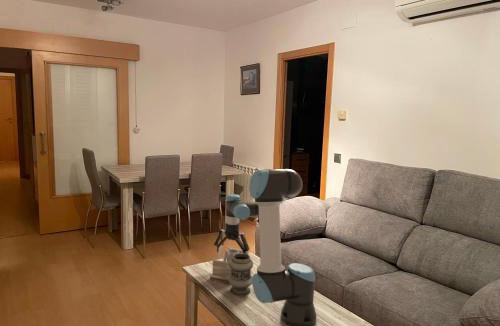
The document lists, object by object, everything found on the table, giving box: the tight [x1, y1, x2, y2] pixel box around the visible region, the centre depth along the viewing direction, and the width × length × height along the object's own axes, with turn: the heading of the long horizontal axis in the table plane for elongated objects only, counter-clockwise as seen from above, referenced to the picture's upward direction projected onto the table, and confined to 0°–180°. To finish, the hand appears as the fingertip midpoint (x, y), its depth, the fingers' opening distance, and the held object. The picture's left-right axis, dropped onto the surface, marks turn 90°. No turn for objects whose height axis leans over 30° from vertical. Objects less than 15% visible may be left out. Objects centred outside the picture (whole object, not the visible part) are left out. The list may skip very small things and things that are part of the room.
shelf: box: [209, 247, 249, 285], centre depth 195 cm, size 26×12×10 cm, turn 159°
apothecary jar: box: [229, 253, 254, 297], centre depth 174 cm, size 12×12×18 cm
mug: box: [222, 248, 239, 263], centre depth 194 cm, size 8×12×12 cm, turn 143°
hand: (231, 260), depth 194 cm, fingers open, 13 cm apart
